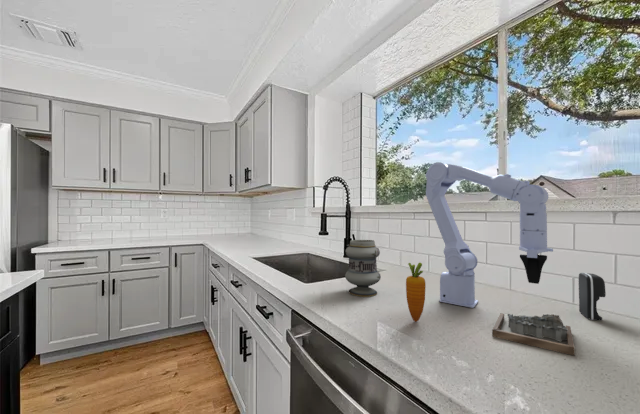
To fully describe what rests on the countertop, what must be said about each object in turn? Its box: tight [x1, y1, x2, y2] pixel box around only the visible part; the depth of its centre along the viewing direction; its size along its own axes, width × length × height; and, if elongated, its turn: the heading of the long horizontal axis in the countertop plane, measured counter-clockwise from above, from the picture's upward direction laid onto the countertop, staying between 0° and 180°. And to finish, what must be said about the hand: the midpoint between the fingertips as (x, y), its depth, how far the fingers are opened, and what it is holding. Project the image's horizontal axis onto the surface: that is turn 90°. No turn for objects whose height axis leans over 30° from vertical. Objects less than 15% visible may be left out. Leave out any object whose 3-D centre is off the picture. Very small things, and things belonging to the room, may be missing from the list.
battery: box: [578, 272, 607, 321], centre depth 76 cm, size 7×4×11 cm, turn 153°
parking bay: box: [491, 312, 576, 357], centre depth 64 cm, size 14×14×2 cm
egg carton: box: [507, 313, 568, 342], centre depth 66 cm, size 11×8×4 cm
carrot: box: [405, 262, 426, 323], centre depth 71 cm, size 5×5×15 cm
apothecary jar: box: [344, 239, 381, 298], centre depth 98 cm, size 12×12×18 cm
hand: (533, 282), depth 74 cm, fingers closed
